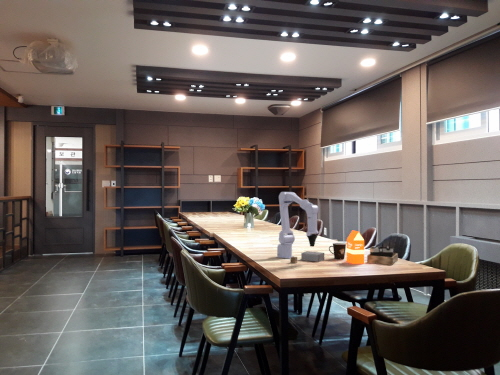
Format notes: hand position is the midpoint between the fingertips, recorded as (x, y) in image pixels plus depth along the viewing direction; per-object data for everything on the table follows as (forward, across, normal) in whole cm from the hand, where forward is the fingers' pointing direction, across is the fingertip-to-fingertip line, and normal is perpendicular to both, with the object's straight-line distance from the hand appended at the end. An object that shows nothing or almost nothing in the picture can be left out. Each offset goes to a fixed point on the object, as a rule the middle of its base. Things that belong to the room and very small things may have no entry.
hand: (312, 246), depth 235 cm
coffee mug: (+11, +25, -8) cm, 28 cm away
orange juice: (+11, +18, -22) cm, 30 cm away
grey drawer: (+10, +12, +4) cm, 16 cm away
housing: (+10, +12, +4) cm, 16 cm away
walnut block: (+10, -5, +10) cm, 15 cm away
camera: (+11, +31, -35) cm, 47 cm away
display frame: (+10, +32, -36) cm, 49 cm away
